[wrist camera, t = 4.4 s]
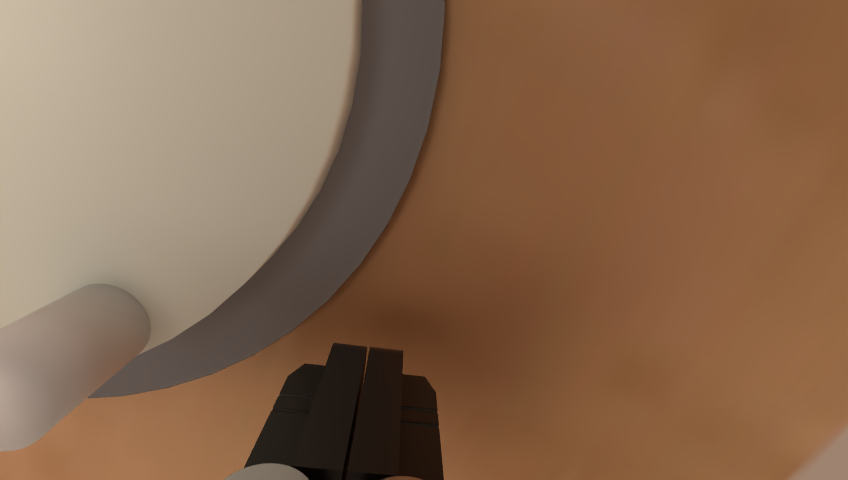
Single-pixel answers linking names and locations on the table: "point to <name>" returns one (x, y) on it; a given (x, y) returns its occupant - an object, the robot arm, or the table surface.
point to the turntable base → (322, 206)
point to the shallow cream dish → (150, 173)
